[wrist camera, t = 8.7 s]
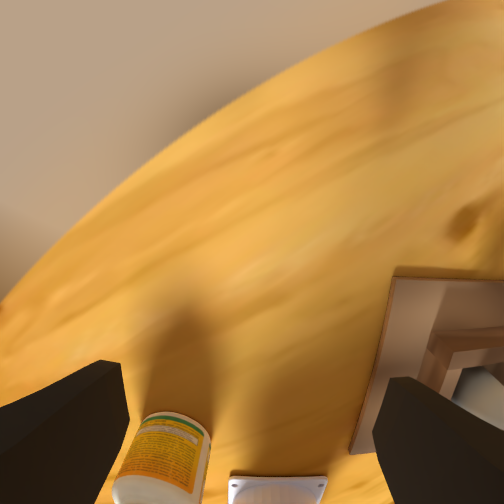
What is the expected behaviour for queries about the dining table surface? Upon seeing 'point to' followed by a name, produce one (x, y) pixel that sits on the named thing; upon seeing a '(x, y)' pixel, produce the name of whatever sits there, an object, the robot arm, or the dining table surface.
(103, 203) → the dining table surface
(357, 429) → the socket block
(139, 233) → the dining table surface
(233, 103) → the dining table surface
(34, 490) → the robot arm
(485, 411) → the peg
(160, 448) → the supplement bottle
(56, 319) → the dining table surface
